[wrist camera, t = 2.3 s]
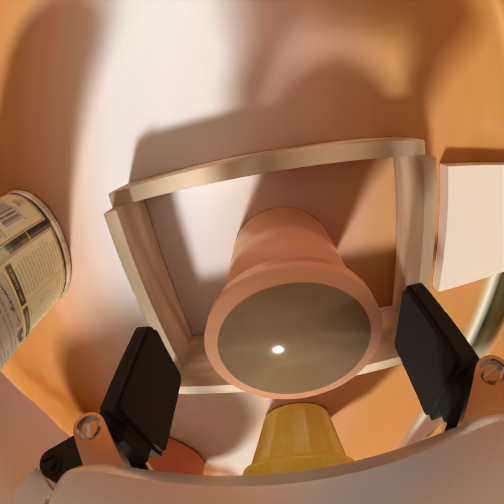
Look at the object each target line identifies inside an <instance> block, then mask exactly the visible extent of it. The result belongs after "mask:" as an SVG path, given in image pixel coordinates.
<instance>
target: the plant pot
mask: <svg viewBox="0 0 504 504" xmlns="http://www.w3.org/2000/svg"><path fill="white" fill-rule="evenodd" d="M349 462H354V460H353V459H352V458H350V457H348V456H346V454H345V452H344V449H343V447H342V445H341V442H340V440H339V437H338V435H337V433H336V430H335V428H334V426H333V423H332V421H331V418H330V416H329V414H328V412H327V410H326V409H324V408H323V407H321V406H319V405H316V404H310V403H294V404H288V405H284V406H281V407H278V408H276V409H274V410H272V411H271V412H269V413H268V414H267V416H266V417H265V420H264V423H263V427H262V431H261V434H260V438H259V441H258V445H257V448H256V451H255V455H254V458H253V461H252V464H251V465H249V466H248V467H247V468H246V469H245V470H244V472H243V476H248V475H267V474H280V473H290V472H298V471H306V470H312V469H319V468H324V467H330V466H335V465H340V464H345V463H349Z"/></svg>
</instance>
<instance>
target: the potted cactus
mask: <svg viewBox="0 0 504 504" xmlns="http://www.w3.org/2000/svg"><path fill="white" fill-rule="evenodd" d="M148 462H149V464H150V465H151V467H152V468H153V470H154V471H160V472H169V473H179V474H191V475H203V471H204V462H203V460H202V458H201V457H200V455H199V454H198V453H197V452H195V451H194V450H193V449H191V448H190V447H188V446H186V445H184V444H182V443H180V442H178V441H176V440H174V439H171V438H168V443H167V447H166V450H165V451H162V456H161V457H156V456H149V459H148Z"/></svg>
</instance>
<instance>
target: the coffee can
mask: <svg viewBox="0 0 504 504" xmlns="http://www.w3.org/2000/svg"><path fill="white" fill-rule="evenodd" d="M70 279H71V261H70V255H69V250H68V246H67V244H66V241H65V238H64V235H63V233H62V230H61V228H60V226H59V224H58V222H57V221H56V219H55V217H54V216H53V214H52V213H51V211H50V210H49V209H48V207H47V206H46V205H45V204H44V203H43V202H42V201H40V200H39V199H38V198H37V197H36V196H34V195H33V194H31V193H29V192H26V191H22V190H13V191H11V192H8V193H7V194H5V195H4V196H2V197H0V371H1V370H2V368H3V367H4V365H5V364H6V363H7V361H8V360H9V359H10V357H11V356H12V355H13V353H14V352H15V351H16V349H17V348H18V347H19V345H20V344H21V343H22V342H23V340H24V339H25V338H26V337H27V335H28V334H29V333H30V332H31V330H32V329H33V328H34V327H35V326H36V324H37V323H38V322H39V321H40V320H41V318H42V317H43V316H44V315H45V314H46V312H47V311H48V310H49V309H50V308H51V307H52V306H53V304H54V303H55V302H56V301H57V300H58V299H59V298H61V297H62V296H63V295H64V294H65V292H66V291H67V289H68V287H69V283H70Z"/></svg>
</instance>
